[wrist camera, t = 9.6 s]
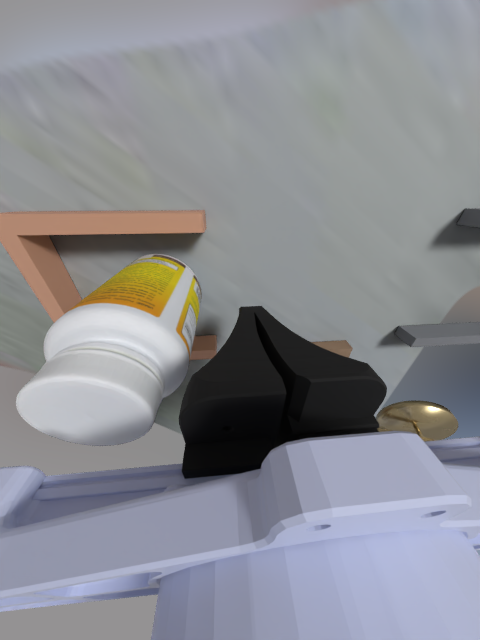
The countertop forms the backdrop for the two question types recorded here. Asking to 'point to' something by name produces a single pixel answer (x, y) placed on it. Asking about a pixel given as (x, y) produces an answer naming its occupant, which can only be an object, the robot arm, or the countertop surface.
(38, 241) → the frame
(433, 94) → the countertop surface
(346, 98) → the countertop surface
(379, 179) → the countertop surface
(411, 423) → the balance beam
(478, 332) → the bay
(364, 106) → the countertop surface
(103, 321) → the supplement bottle
